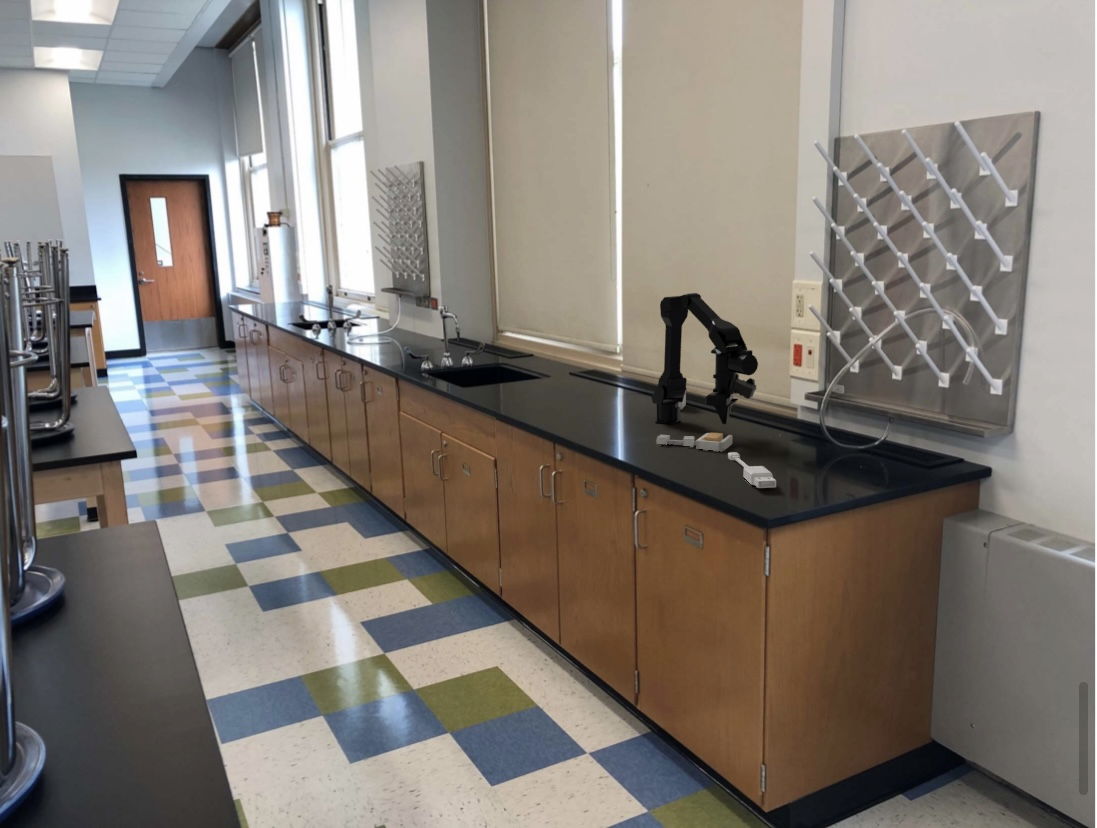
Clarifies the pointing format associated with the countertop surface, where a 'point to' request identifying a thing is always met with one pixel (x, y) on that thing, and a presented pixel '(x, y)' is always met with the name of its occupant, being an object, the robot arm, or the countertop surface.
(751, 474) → the charging cable
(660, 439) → the clip
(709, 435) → the tan rectangular block
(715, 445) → the end holder
